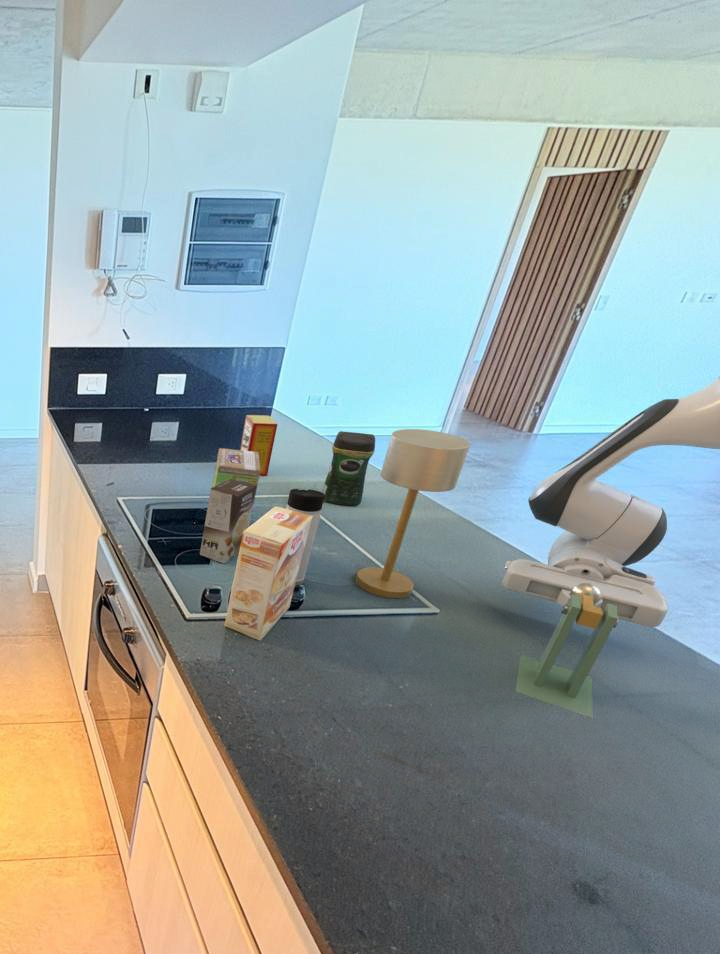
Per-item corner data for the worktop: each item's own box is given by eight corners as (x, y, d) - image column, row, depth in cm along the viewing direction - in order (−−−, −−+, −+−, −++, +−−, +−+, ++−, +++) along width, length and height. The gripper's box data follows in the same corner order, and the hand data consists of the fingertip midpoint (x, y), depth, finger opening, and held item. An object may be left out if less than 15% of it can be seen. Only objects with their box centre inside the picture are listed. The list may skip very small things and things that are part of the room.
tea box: (250, 526, 150) (261, 469, 144) (207, 521, 153) (216, 465, 146) (249, 503, 163) (259, 450, 156) (209, 499, 166) (218, 446, 159)
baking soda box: (237, 464, 190) (246, 413, 183) (259, 465, 190) (269, 414, 182) (244, 475, 182) (253, 422, 175) (266, 476, 181) (277, 423, 174)
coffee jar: (359, 498, 166) (378, 431, 158) (360, 508, 160) (380, 439, 151) (320, 492, 170) (336, 426, 161) (319, 502, 163) (336, 435, 155)
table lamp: (389, 569, 131) (434, 427, 117) (431, 598, 121) (487, 447, 107) (337, 573, 130) (377, 430, 116) (376, 603, 119) (425, 450, 105)
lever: (566, 597, 100) (575, 577, 99) (595, 604, 98) (604, 584, 97) (568, 625, 91) (578, 604, 89) (600, 634, 89) (611, 612, 87)
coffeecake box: (260, 642, 108) (283, 543, 99) (222, 626, 112) (240, 530, 104) (291, 607, 118) (314, 515, 109) (255, 594, 122) (274, 504, 113)
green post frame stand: (517, 660, 103) (555, 579, 96) (588, 683, 98) (633, 599, 91) (512, 698, 95) (553, 612, 88) (589, 724, 90) (639, 636, 83)
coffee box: (225, 565, 133) (238, 496, 126) (198, 555, 137) (209, 488, 130) (245, 551, 139) (258, 484, 132) (218, 542, 143) (230, 477, 136)
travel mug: (274, 586, 125) (295, 495, 116) (267, 570, 131) (287, 483, 122) (307, 589, 124) (330, 497, 115) (298, 572, 130) (320, 484, 121)
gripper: (512, 544, 112) (505, 573, 103) (668, 580, 100) (677, 617, 91) (499, 574, 115) (492, 605, 105) (650, 612, 103) (657, 651, 93)
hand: (579, 611), depth 98 cm, fingers closed, pressing on lever
